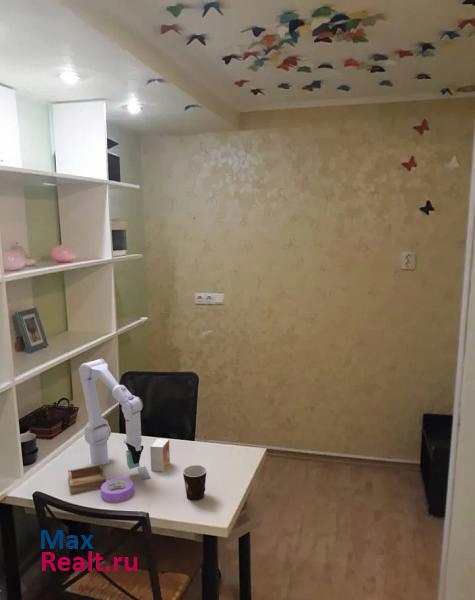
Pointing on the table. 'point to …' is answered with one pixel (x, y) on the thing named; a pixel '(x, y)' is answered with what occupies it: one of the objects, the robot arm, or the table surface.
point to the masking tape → (116, 495)
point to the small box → (160, 454)
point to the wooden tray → (86, 478)
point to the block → (131, 460)
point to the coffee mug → (195, 482)
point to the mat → (143, 473)
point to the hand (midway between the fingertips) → (134, 460)
